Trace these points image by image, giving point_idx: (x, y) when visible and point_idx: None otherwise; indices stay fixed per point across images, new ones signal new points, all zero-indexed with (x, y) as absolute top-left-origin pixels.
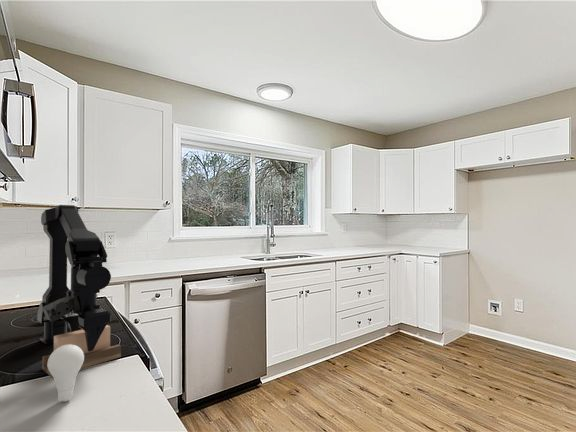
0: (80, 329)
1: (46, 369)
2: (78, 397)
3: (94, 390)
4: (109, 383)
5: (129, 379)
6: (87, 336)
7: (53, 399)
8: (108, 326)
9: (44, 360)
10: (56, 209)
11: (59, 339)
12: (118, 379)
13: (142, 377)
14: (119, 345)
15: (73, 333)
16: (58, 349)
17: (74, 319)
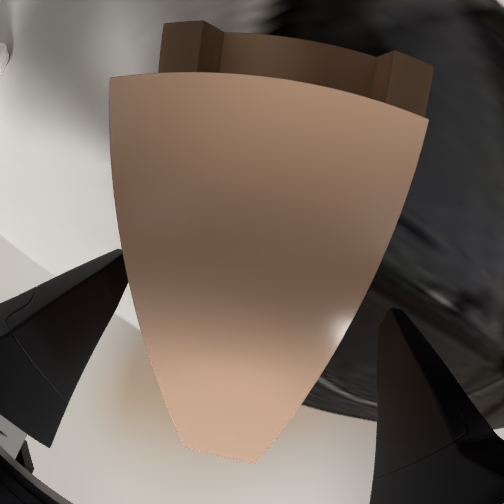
0: (388, 416)
1: (311, 41)
2: (3, 88)
3: (9, 131)
4: (20, 177)
5: (21, 220)
6: (9, 299)
7: (29, 29)
8: (191, 447)
9: (386, 56)
10: None
11: (123, 99)
12: (29, 205)
13: (21, 242)
14: None
15: (207, 348)
16: None
17: (431, 495)
